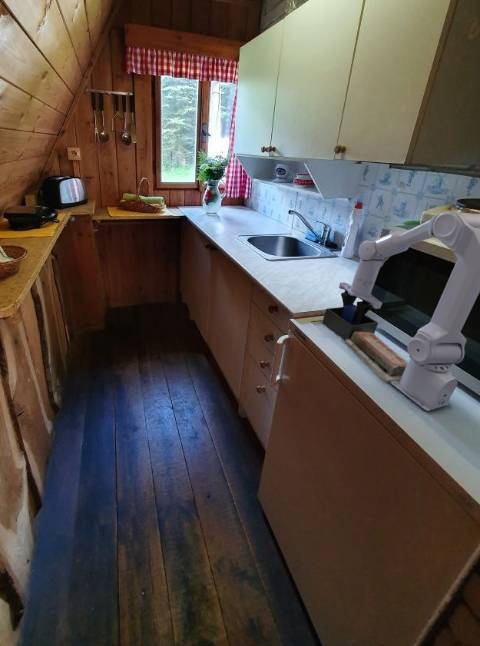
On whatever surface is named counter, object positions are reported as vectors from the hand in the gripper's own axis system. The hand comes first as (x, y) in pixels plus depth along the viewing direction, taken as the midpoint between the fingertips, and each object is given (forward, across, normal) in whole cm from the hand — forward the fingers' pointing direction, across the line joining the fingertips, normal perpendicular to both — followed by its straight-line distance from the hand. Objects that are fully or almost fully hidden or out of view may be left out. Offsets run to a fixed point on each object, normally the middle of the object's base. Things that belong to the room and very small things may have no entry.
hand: (351, 317), depth 99 cm
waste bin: (+5, 0, 0) cm, 5 cm away
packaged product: (+6, +15, -4) cm, 16 cm away
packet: (+1, 0, 0) cm, 1 cm away
